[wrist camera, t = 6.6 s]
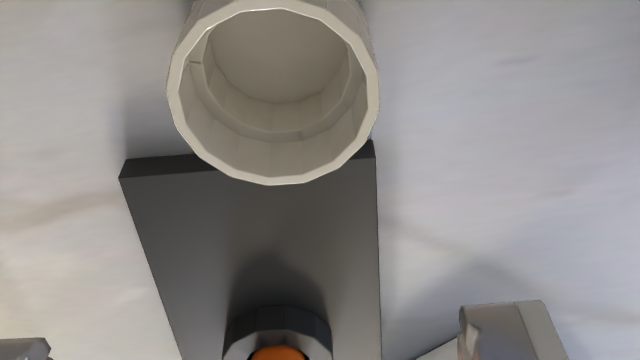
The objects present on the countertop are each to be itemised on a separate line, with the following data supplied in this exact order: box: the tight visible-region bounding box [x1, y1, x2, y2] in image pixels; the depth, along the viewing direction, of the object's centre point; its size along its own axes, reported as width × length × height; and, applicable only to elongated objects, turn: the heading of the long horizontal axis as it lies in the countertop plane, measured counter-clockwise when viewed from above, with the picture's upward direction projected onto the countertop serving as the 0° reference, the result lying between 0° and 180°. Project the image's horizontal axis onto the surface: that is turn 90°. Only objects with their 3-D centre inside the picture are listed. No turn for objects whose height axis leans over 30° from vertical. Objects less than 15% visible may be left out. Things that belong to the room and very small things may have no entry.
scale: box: [118, 140, 382, 360], centre depth 29 cm, size 14×11×3 cm
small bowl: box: [166, 0, 380, 186], centre depth 21 cm, size 7×7×5 cm
